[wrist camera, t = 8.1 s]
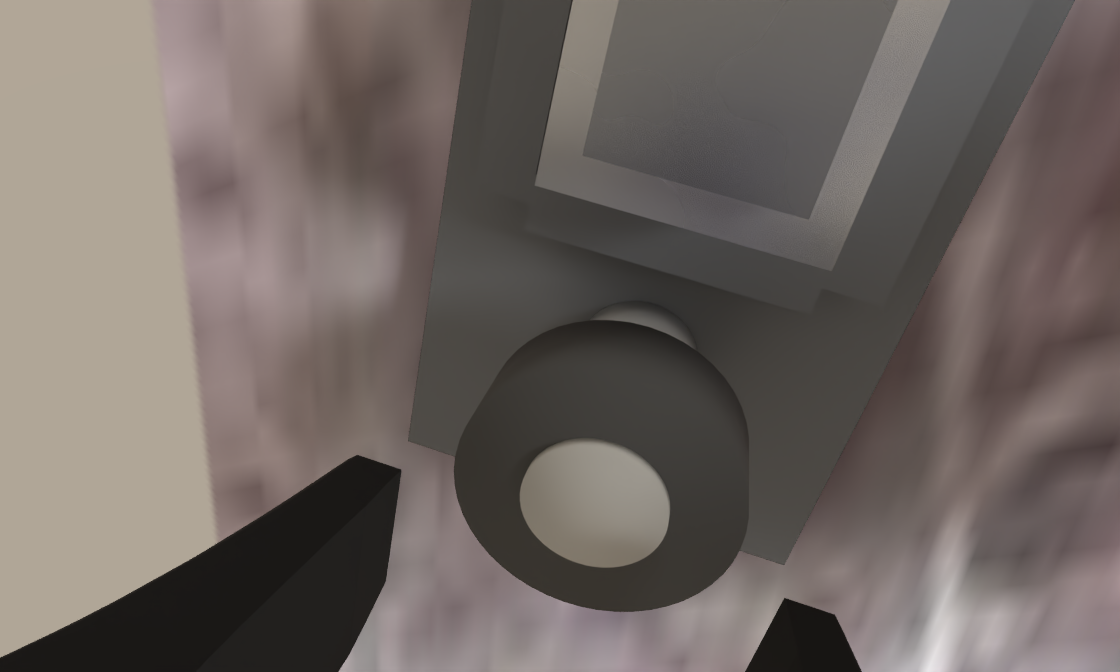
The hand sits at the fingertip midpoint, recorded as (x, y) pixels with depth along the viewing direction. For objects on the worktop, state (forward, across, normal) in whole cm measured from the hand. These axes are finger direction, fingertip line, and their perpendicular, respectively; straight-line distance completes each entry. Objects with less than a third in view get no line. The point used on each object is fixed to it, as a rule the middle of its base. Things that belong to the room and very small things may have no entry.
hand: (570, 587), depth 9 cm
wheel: (+3, 0, 0) cm, 3 cm away
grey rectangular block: (+6, 0, -7) cm, 9 cm away
